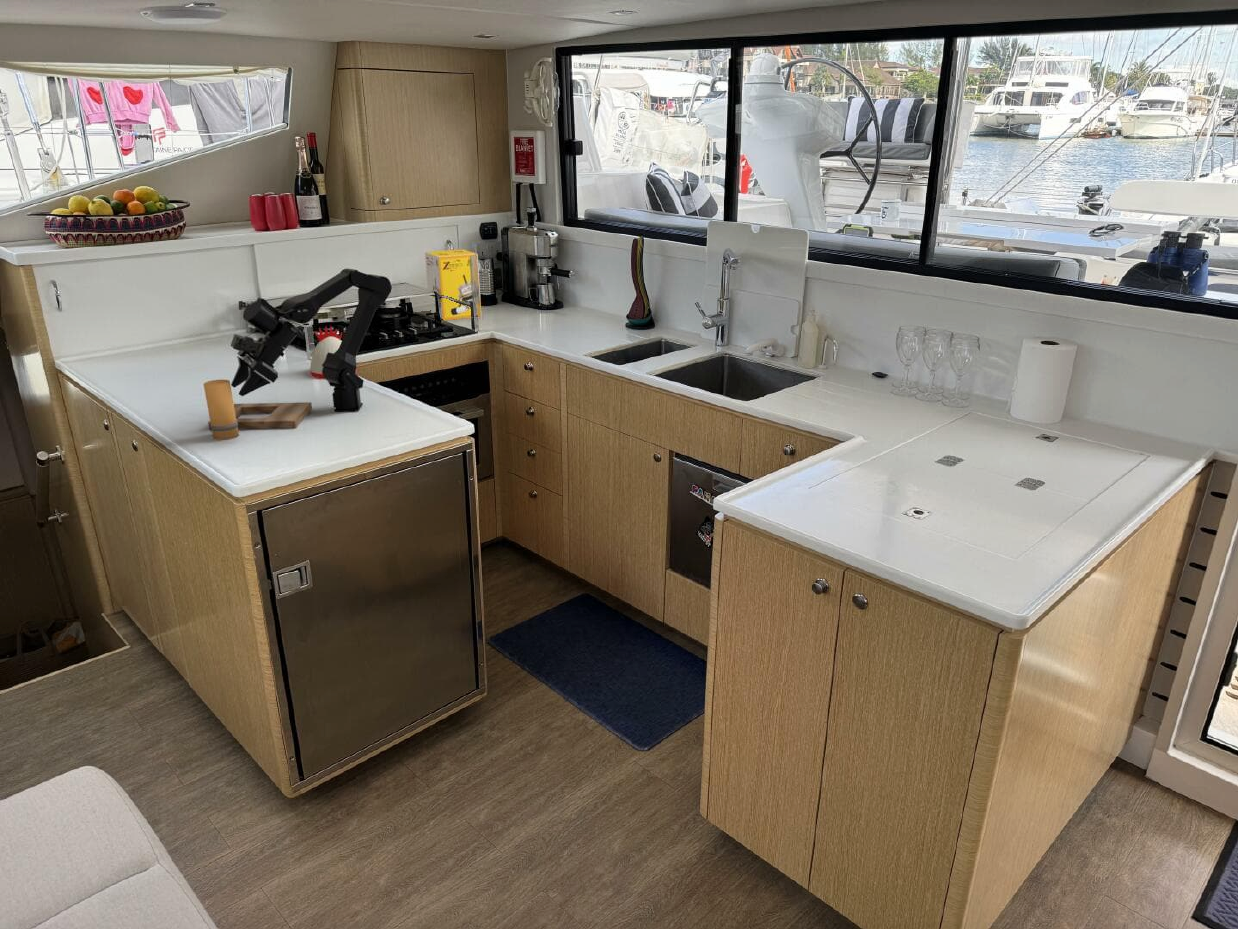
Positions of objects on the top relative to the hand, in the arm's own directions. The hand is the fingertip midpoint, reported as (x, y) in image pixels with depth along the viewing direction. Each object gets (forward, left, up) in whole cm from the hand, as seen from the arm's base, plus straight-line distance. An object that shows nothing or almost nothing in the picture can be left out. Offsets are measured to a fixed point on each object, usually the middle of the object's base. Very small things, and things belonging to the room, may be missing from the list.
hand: (236, 390), depth 220 cm
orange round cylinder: (+4, +2, -11) cm, 12 cm away
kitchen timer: (-9, -57, -12) cm, 58 cm away
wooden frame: (-1, -11, -11) cm, 16 cm away
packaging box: (-37, -143, -11) cm, 148 cm away
